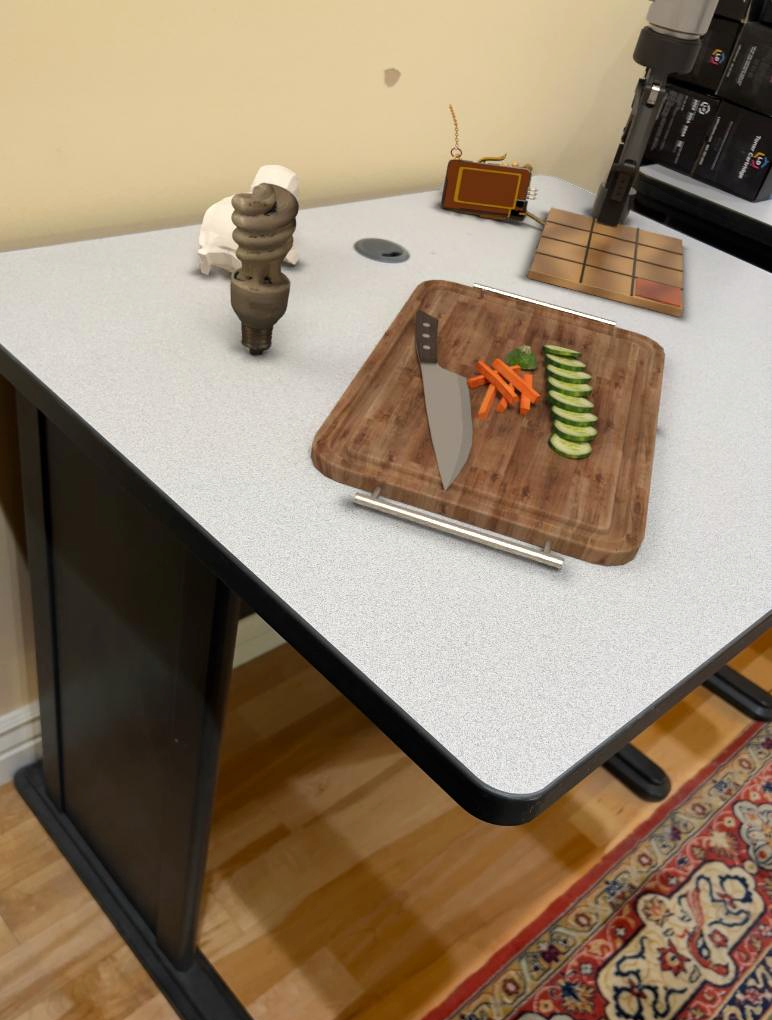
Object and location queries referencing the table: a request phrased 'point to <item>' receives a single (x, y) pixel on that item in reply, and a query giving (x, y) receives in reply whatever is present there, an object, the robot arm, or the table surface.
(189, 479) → the table surface
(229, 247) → the white lumpy sculpture
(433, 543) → the table surface
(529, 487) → the chopping board
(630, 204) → the dark grey short cylinder
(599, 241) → the game board
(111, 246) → the table surface
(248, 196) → the light bulb
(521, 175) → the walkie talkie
